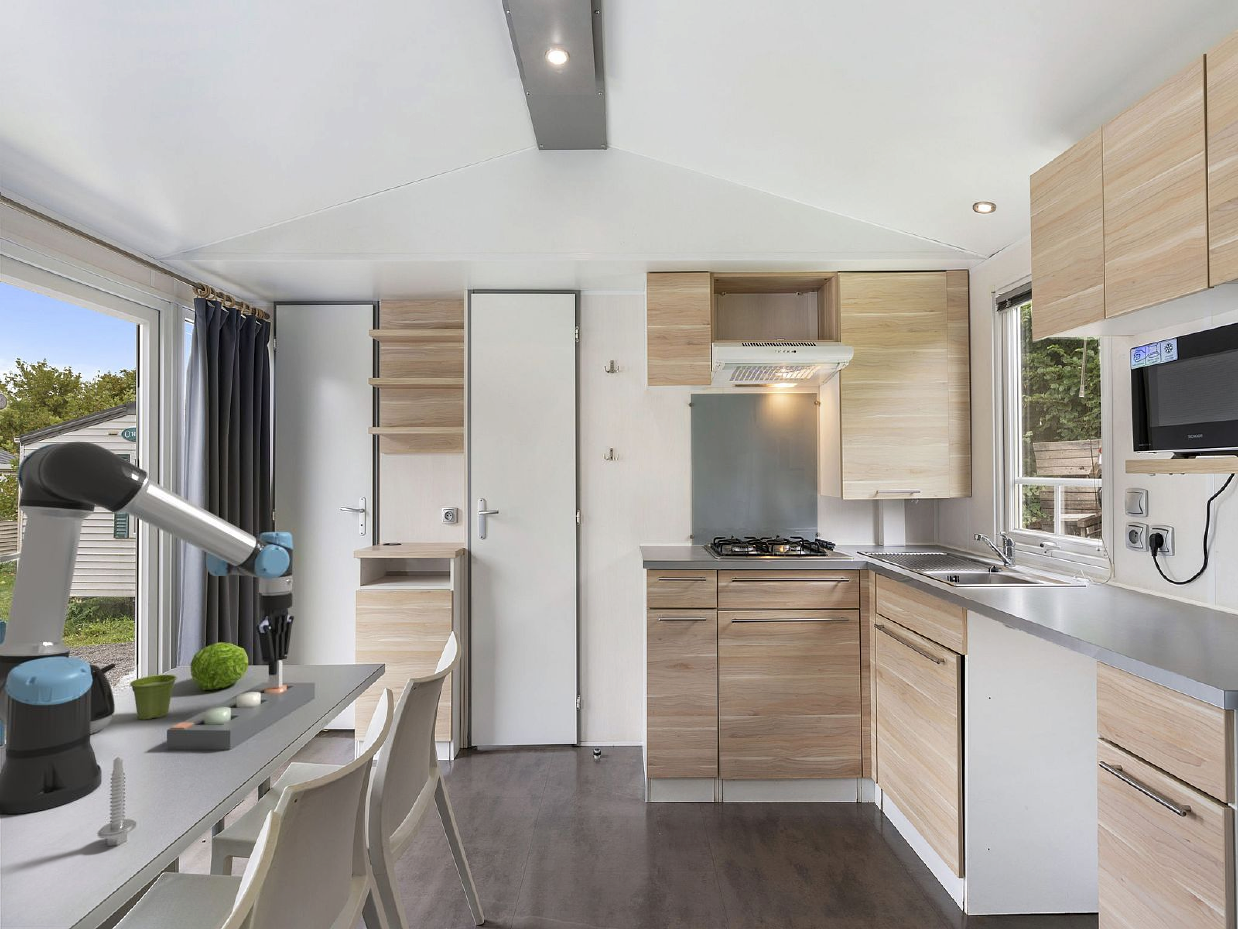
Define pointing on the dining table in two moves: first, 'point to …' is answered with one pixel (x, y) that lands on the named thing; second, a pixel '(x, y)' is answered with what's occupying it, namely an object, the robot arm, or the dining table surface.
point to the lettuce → (218, 666)
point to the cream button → (248, 700)
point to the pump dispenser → (101, 698)
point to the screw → (117, 809)
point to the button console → (240, 719)
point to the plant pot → (153, 695)
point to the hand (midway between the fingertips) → (275, 686)
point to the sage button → (217, 716)
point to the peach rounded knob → (275, 689)
